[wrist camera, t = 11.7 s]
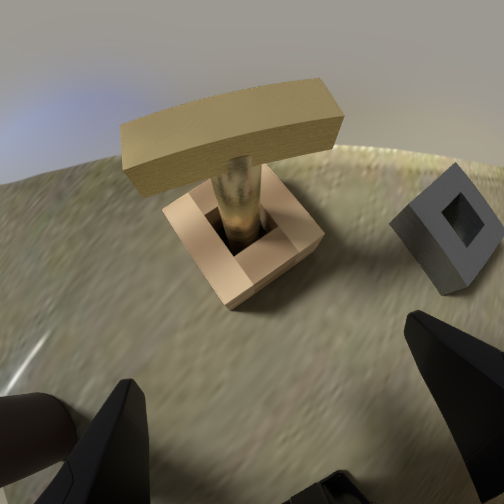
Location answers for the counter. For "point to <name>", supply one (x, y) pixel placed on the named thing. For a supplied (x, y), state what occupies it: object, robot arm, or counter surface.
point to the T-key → (230, 145)
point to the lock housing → (450, 230)
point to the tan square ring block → (256, 255)
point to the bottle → (32, 435)
